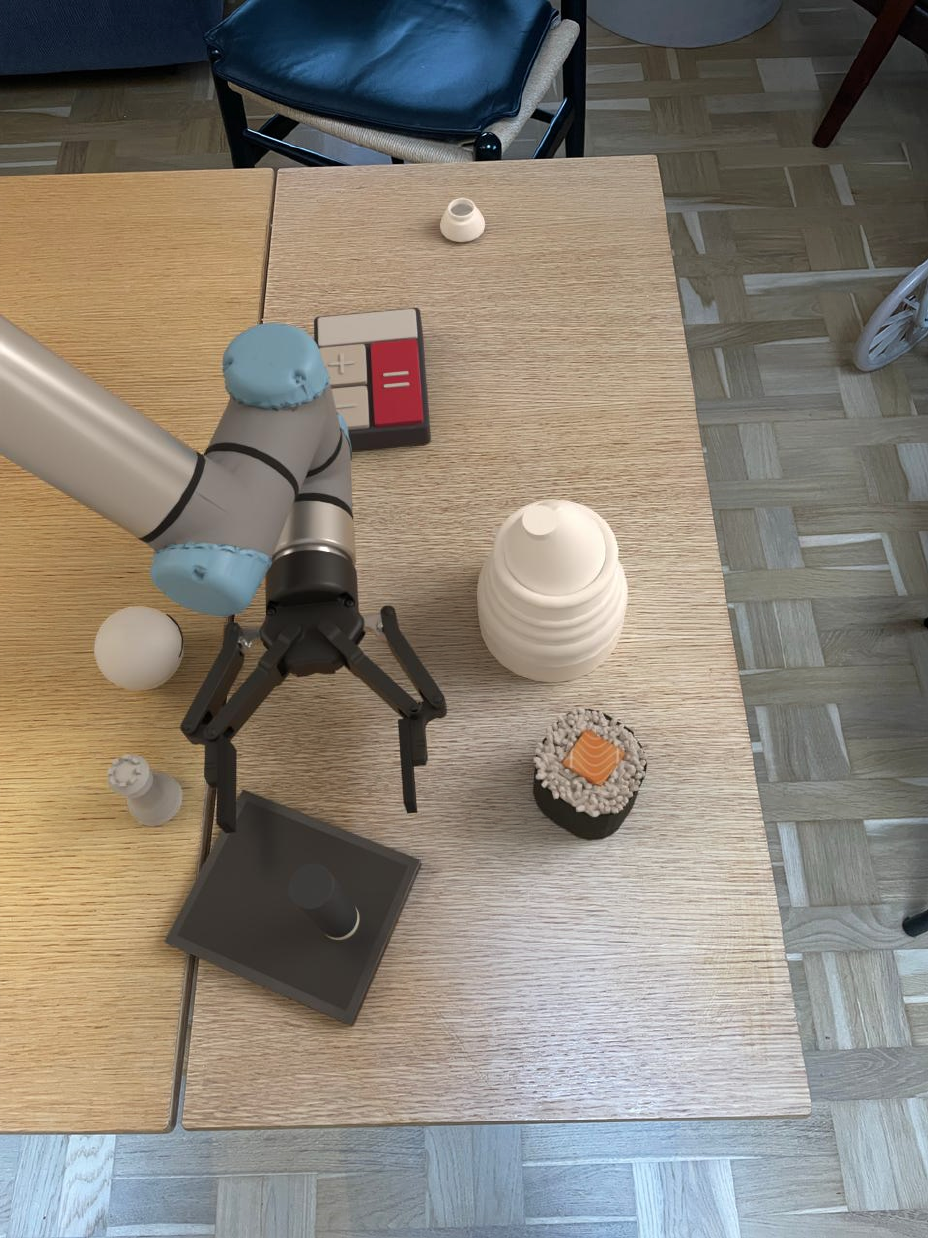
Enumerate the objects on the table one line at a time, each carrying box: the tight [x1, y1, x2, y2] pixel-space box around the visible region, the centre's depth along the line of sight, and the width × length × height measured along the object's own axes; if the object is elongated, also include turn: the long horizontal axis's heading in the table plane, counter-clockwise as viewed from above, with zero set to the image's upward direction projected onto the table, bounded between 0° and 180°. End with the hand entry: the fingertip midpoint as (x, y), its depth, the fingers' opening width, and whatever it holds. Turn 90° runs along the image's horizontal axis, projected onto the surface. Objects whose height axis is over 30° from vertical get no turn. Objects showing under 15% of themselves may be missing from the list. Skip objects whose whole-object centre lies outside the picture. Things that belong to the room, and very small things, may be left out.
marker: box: [289, 863, 359, 940], centre depth 70 cm, size 3×3×12 cm
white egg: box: [93, 590, 184, 692], centre depth 85 cm, size 10×7×7 cm
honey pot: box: [476, 498, 629, 683], centre depth 80 cm, size 13×13×18 cm
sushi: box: [532, 706, 649, 841], centre depth 77 cm, size 8×8×8 cm
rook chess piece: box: [106, 753, 184, 827], centre depth 78 cm, size 4×4×8 cm
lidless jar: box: [439, 197, 486, 243], centre depth 110 cm, size 5×3×5 cm
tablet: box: [163, 789, 423, 1027], centre depth 77 cm, size 16×13×1 cm
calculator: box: [313, 307, 432, 452], centre depth 99 cm, size 11×4×15 cm
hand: (318, 818), depth 72 cm, fingers open, 13 cm apart
